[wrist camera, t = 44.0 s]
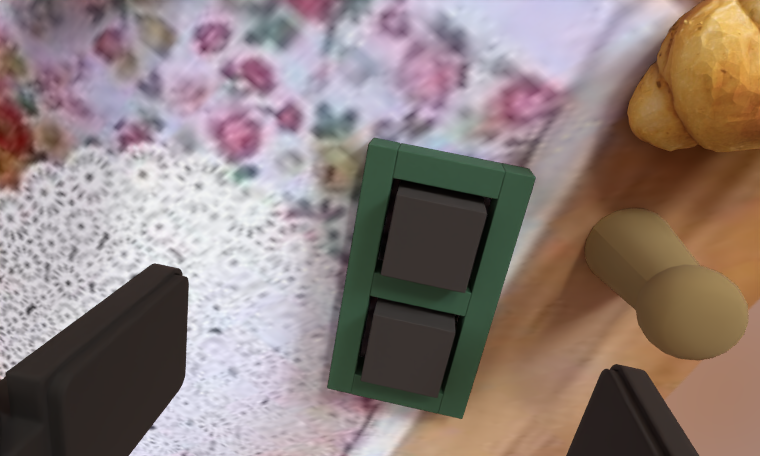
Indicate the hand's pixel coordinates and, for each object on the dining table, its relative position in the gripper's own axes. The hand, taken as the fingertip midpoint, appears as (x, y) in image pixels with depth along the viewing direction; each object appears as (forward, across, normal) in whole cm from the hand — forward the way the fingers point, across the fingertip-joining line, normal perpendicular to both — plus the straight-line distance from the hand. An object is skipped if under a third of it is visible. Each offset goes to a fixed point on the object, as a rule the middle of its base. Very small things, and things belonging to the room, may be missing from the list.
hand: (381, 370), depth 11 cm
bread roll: (+26, -17, -9) cm, 32 cm away
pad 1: (+25, -2, +5) cm, 26 cm away
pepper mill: (+26, -16, +4) cm, 30 cm away
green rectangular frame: (+25, -2, +10) cm, 27 cm away
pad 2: (+25, -2, +14) cm, 29 cm away
